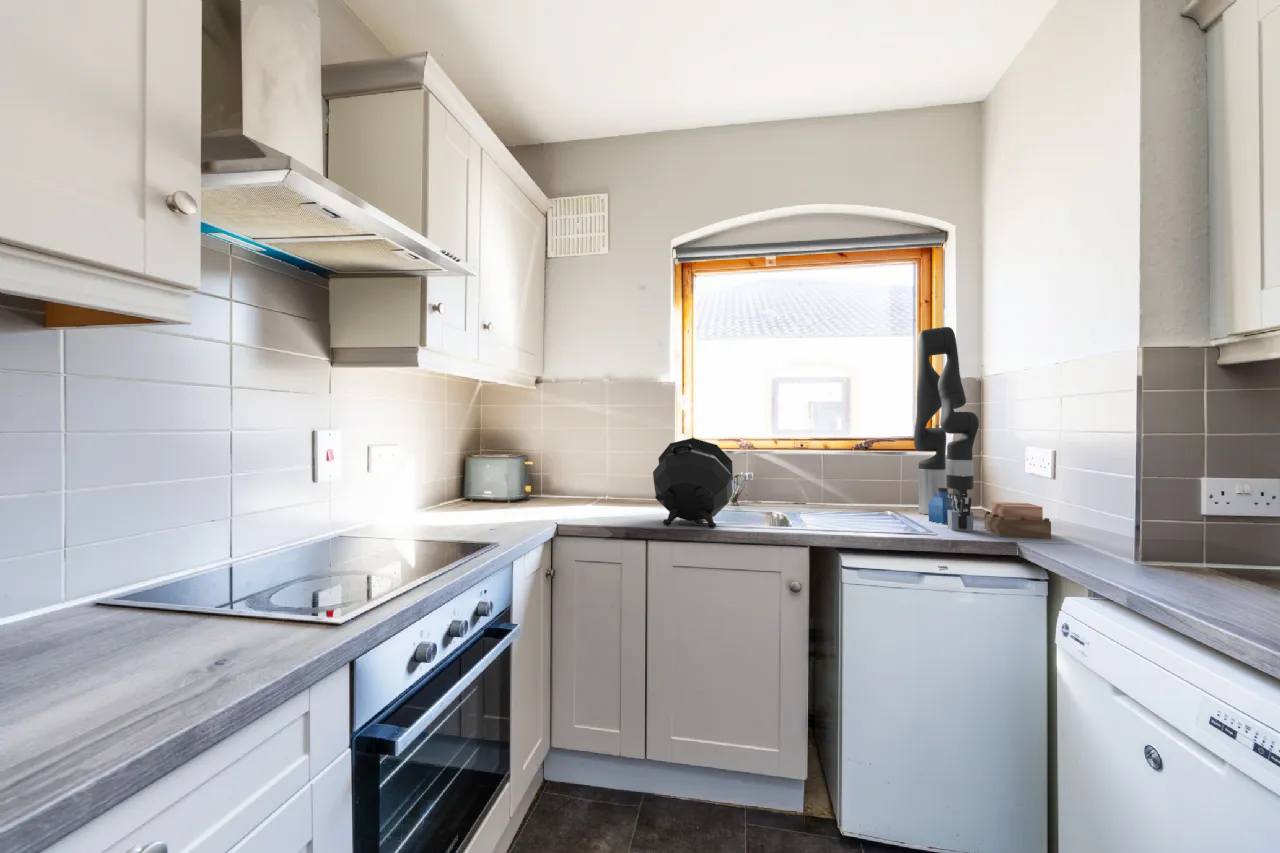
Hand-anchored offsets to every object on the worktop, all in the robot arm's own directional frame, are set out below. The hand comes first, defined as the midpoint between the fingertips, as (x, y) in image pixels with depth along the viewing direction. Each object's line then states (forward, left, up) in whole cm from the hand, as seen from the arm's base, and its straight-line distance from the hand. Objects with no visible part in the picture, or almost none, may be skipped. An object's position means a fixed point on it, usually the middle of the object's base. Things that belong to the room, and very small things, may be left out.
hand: (960, 527), depth 170 cm
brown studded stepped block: (+3, +15, -1) cm, 15 cm away
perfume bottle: (-15, -1, -1) cm, 15 cm away
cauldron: (+13, -84, -1) cm, 85 cm away
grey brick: (0, 0, -1) cm, 1 cm away
